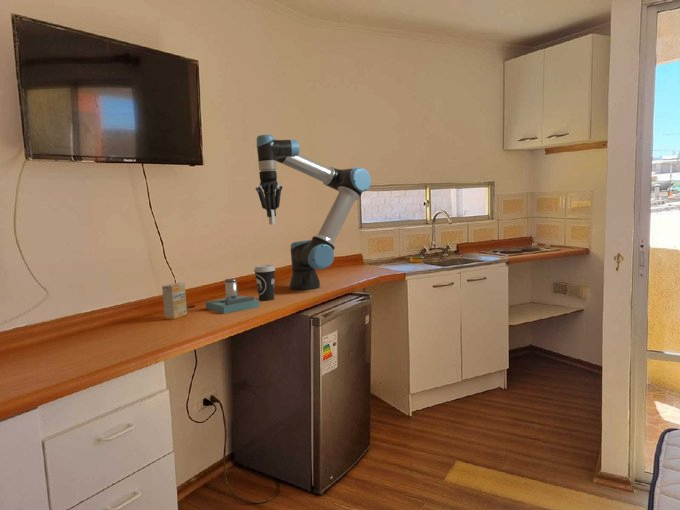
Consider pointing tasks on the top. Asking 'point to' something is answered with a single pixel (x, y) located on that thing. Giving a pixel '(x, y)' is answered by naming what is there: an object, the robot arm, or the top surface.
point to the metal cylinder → (231, 289)
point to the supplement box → (174, 300)
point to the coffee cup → (265, 281)
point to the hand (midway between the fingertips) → (272, 224)
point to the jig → (232, 304)
